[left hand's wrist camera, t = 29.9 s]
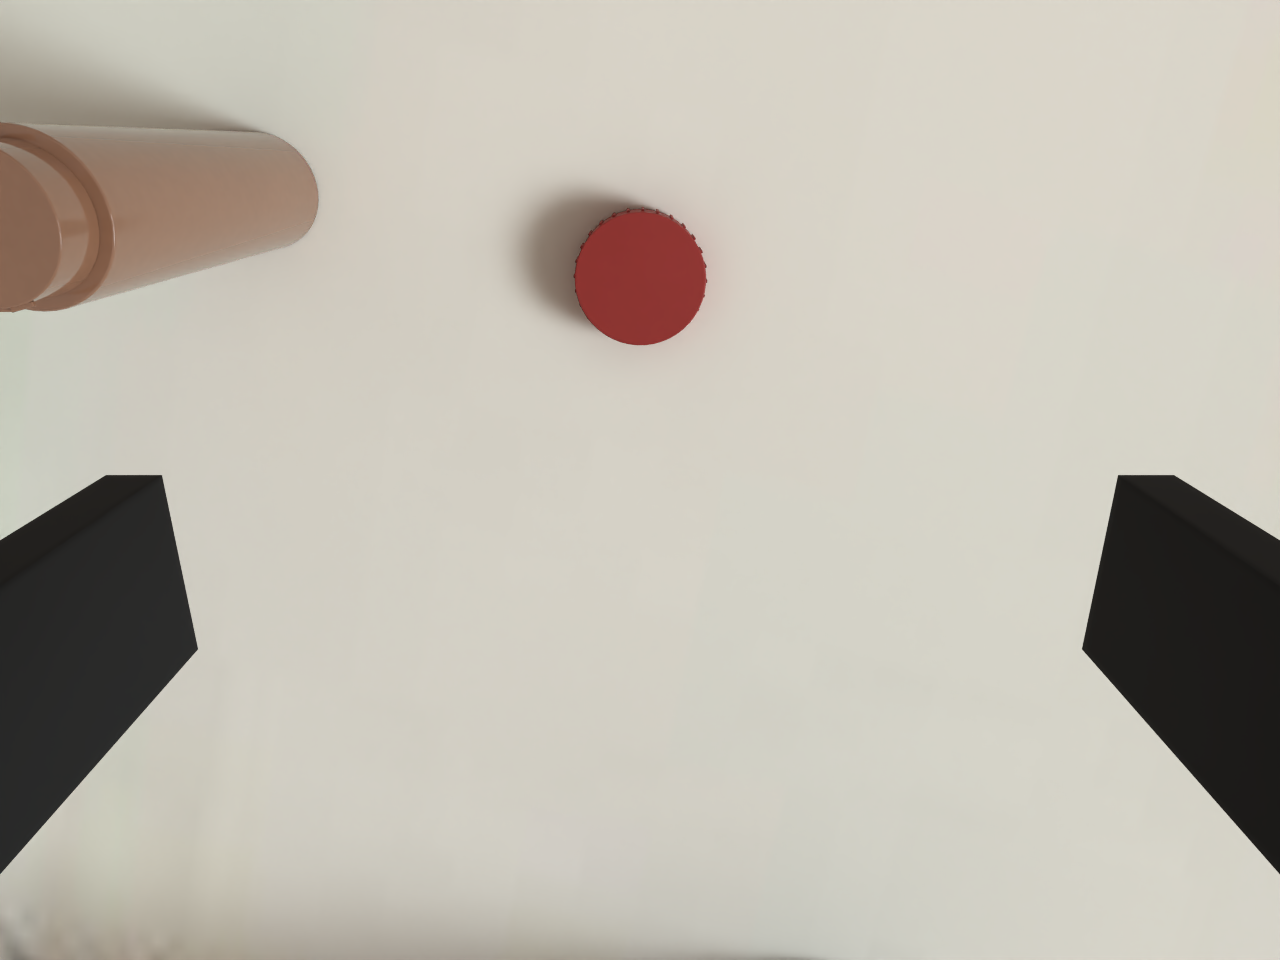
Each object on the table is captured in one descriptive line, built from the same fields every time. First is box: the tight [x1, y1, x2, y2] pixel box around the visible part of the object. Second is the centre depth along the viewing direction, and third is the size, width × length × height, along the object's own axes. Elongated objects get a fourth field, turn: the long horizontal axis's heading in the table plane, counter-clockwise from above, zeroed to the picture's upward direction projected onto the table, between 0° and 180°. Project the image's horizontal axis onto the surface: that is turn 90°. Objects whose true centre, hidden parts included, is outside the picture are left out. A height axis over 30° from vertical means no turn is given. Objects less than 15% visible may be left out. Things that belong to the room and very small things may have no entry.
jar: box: [0, 122, 318, 312], centre depth 29 cm, size 5×5×17 cm
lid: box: [574, 207, 707, 345], centre depth 37 cm, size 6×6×2 cm
